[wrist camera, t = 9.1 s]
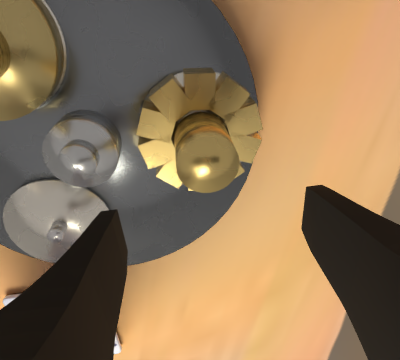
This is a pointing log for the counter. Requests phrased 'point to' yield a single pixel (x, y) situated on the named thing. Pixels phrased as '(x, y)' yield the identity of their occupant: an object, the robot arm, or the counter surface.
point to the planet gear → (199, 130)
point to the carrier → (101, 120)
